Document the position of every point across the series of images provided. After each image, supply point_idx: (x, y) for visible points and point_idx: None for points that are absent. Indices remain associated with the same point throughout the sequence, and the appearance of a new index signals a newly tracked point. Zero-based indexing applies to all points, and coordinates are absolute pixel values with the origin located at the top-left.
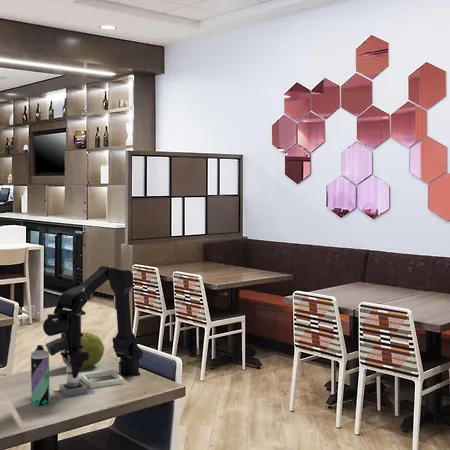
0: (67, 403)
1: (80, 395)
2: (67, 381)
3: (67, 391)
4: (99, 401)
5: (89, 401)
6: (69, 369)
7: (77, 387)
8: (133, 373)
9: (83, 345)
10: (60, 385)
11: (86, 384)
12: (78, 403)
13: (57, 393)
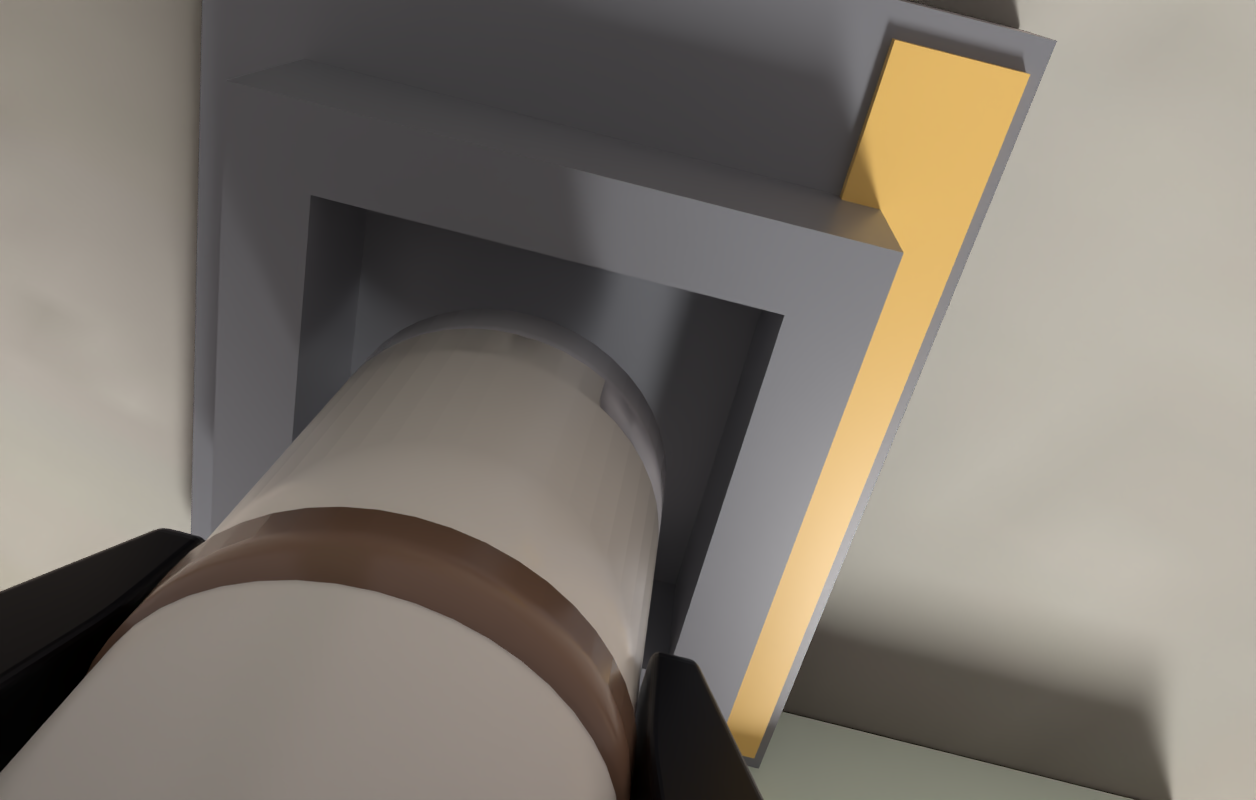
0: (180, 17)
1: (206, 376)
2: (452, 368)
3: (238, 149)
4: (24, 529)
5: (98, 414)
6: (89, 697)
7: (683, 570)
8: None
9: None
10: (775, 221)
11: (776, 775)
12: (76, 205)
13: (666, 26)
